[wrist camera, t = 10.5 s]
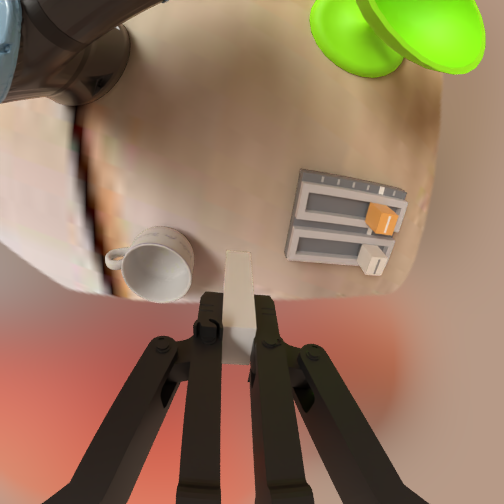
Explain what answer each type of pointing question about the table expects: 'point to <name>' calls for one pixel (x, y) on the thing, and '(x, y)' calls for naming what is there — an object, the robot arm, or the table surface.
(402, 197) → the console
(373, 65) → the wineglass
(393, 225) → the fader
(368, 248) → the fader
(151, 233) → the teacup
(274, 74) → the table surface
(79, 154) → the table surface
